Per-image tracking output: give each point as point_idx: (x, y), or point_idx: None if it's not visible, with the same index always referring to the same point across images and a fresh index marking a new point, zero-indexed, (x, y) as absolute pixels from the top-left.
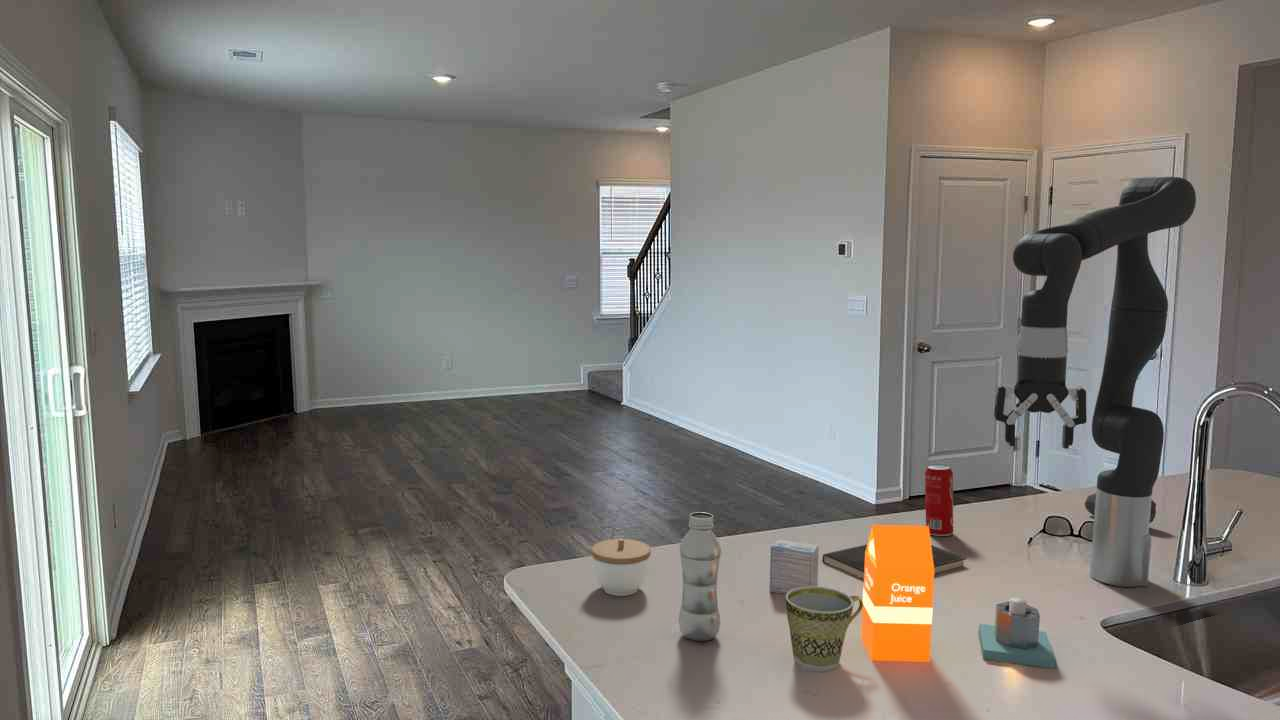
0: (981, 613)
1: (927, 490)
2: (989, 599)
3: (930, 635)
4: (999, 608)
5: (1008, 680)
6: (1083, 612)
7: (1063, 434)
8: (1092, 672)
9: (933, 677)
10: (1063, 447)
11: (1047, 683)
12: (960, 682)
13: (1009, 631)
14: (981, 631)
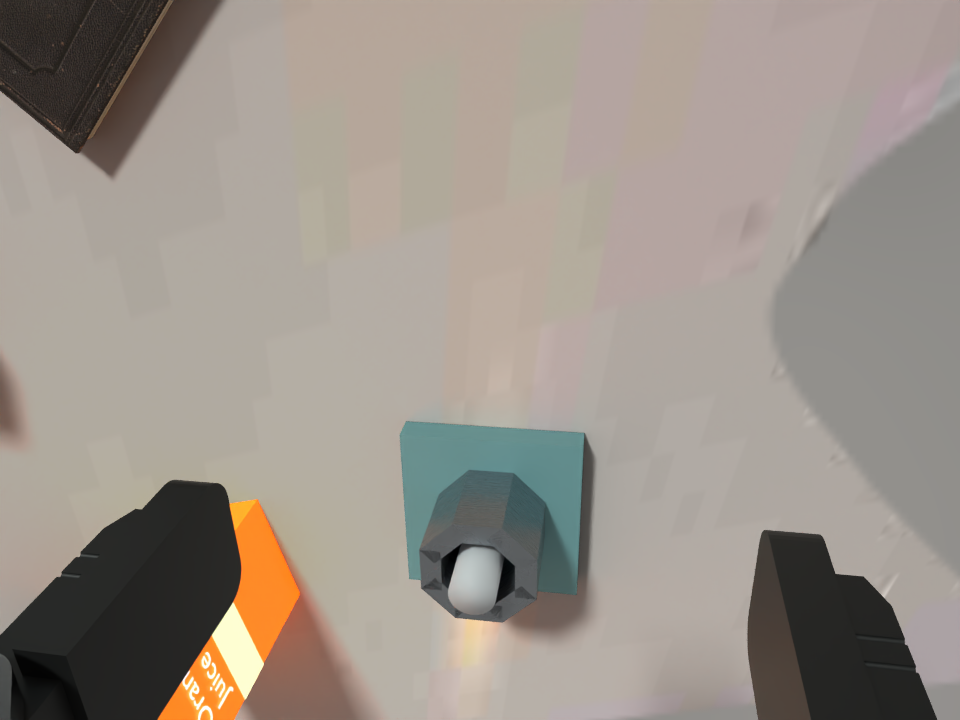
0: (417, 280)
1: None
2: (447, 141)
3: (274, 640)
4: (426, 575)
5: (465, 641)
6: (774, 167)
7: (781, 697)
8: (668, 578)
9: (315, 652)
10: (751, 607)
11: (548, 640)
12: (368, 662)
13: None
14: (405, 483)
